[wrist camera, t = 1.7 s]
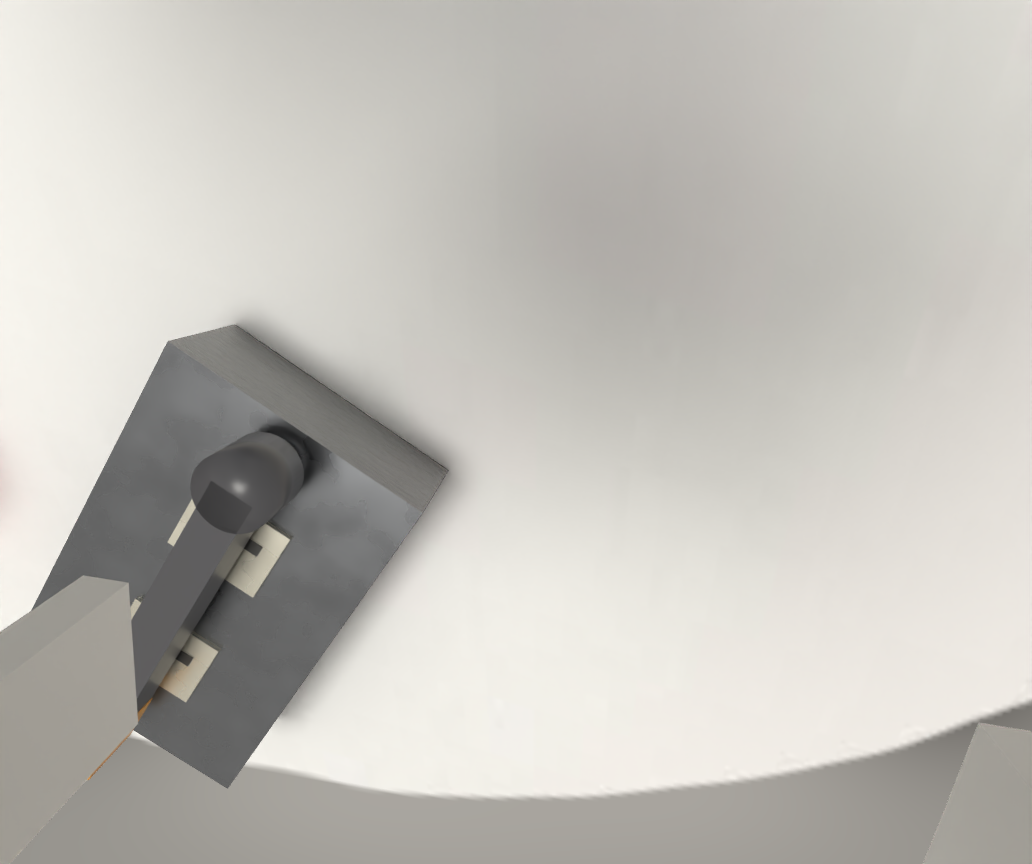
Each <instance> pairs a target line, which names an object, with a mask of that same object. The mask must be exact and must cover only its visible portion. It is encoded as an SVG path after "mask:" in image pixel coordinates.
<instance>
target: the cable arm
mask: <svg viewBox="0 0 1032 864" xmlns="http://www.w3.org/2000/svg"><path fill="white" fill-rule="evenodd" d="M303 480H304V469H303V465H302V462H301V459H300V457H299V455H298V453H297V452H296V450H295V449H294V448H293V447H292V446H291V445H290V444H289V443H288V442H287V441H285V440H284V439H282V438H281V437H279V436H277V435H274V434H271V433H266V432H254V433H250V434H247V435H245V436H243V437H241V438H240V439H238V440H236V441H234V442H233V443H231V444H229V445H228V446H226V447H224V448H222V449H221V450H219V451H217V452H215V453H214V454H212V455H210V456H208V457H207V458H205V459H204V460H202V461H201V462H200V463H199V464H198V465H197V467H196V468H195V470H194V472H193V474H192V478H191V483H190V490H191V496H192V500H193V502H194V505H195V507H196V508H195V510H194V512H193V513H192V515H191V517H190V519H189V520H188V522H187V524H186V526H185V527H184V529H183V531H182V532H181V534H180V536H179V538H178V539H177V541H176V543H175V545H174V546H173V548H172V550H171V552H170V553H169V555H168V557H167V559H166V560H165V562H164V564H163V566H162V567H161V569H160V571H159V573H158V574H157V576H156V578H155V580H154V581H153V583H152V585H151V587H150V588H149V590H148V592H147V594H146V595H145V597H144V599H143V601H142V602H141V604H140V606H139V608H138V609H137V611H136V613H135V615H134V616H133V618H132V620H131V625H132V640H133V655H134V669H135V684H136V698H137V713H138V721H139V720H140V718H141V717H142V715H143V713H144V712H145V710H146V708H147V707H148V705H149V704H150V702H151V700H152V699H153V698H152V696H153V695H154V693H155V692H156V690H157V688H158V687H159V685H160V683H161V682H162V680H163V679H164V677H165V675H166V674H167V672H168V670H169V669H170V667H171V666H172V664H173V662H174V661H175V659H176V657H177V656H178V654H179V653H180V651H181V649H182V648H183V646H184V644H185V643H186V641H187V640H188V638H189V636H190V635H191V633H192V631H193V630H194V628H195V627H196V625H197V623H198V622H199V620H200V618H201V617H202V615H203V614H204V612H205V610H206V609H207V607H208V605H209V604H210V602H211V601H212V599H213V597H214V596H215V594H216V592H217V591H218V589H219V588H220V586H221V584H222V583H223V581H224V579H225V578H226V576H227V575H228V573H229V571H230V570H231V568H232V566H233V565H234V563H235V562H236V560H237V558H238V557H239V555H240V553H241V552H242V550H243V549H244V547H245V545H246V544H247V542H248V540H249V539H250V537H251V536H252V534H253V532H254V531H256V530H257V529H259V528H261V527H262V526H263V525H264V524H265V523H267V522H268V521H269V520H270V519H271V518H272V517H273V516H274V515H276V514H277V513H278V512H279V511H280V510H281V509H282V508H284V507H285V506H286V505H287V504H288V503H289V502H290V501H291V500H293V499H294V498H295V497H296V496H297V494H298V493H299V491H300V489H301V487H302V484H303ZM133 730H134V729H133ZM133 730H132V731H133ZM132 731H131V732H130V733H129V734H128V735H127V736H126V737H125V738H124V740H123V741H122V742H121V743H120V744H119V745H118V746H117V747H116V748H115V749H114V751H113V752H112V753H111V754H110V755H109V756H108V757H107V758H106V759H105V760H104V761H103V763H102V764H101V765H100V766H99V767H98V768H97V769H96V770H95V771H94V772H93V773H92V775H91V776H90V777H89V778H88V779H87V780H89V779H90V778H91V777H92V776H93V775H94V774H95V772H96V771H97V770H98V769H99V768H100V767H101V766H102V765H103V764H104V763H105V762H106V760H108V758H109V757H110V756H111V755H112V754H113V753H114V752H115V751H116V750H117V749H118V748H119V746H120V745H121V744H122V743H123V742H124V741H125V740H126V739H127V738H128V737H129V736H130V734H131V733H132Z"/></svg>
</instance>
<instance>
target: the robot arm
mask: <svg viewBox="0 0 1032 864" xmlns="http://www.w3.org/2000/svg"><path fill="white" fill-rule="evenodd" d="M137 724H138V713H137V698H136V684H135V669H134V655H133V640H132V625H131V611H130V596H129V583H127V582H121V581H115V580H109V579H103V578H97V577H91V576H85V575H83V576H81V577H80V578H79V579H77V580H76V581H74V582H73V583H71V584H70V585H68V586H67V587H65V588H64V589H62V590H61V591H60V592H58V593H57V594H55V595H54V596H52V597H51V598H49V599H48V600H46V601H45V602H43V603H42V604H41V605H39V606H38V607H36V608H35V609H33V610H32V611H30V612H29V613H27V614H26V615H24V616H23V617H21V618H20V619H19V620H17V621H16V622H14V623H13V624H11V625H10V626H8V627H7V628H5V629H4V630H2V631H1V632H0V864H10V863H11V862H12V861H13V860H14V859H15V858H16V857H17V856H18V854H19V853H20V852H21V851H22V850H23V849H24V848H25V847H26V846H27V845H28V844H29V842H30V841H31V840H32V839H33V838H34V837H35V836H36V835H37V834H38V833H39V831H40V830H41V829H42V828H43V827H44V826H45V825H46V824H47V823H48V822H49V821H50V819H51V818H52V817H53V816H54V815H55V814H56V813H57V812H58V811H59V810H60V809H61V807H62V806H63V805H64V804H65V803H66V802H67V801H68V800H69V799H70V797H71V796H72V795H73V794H74V793H75V792H76V791H77V790H78V789H79V788H80V787H81V786H82V784H83V783H84V782H85V781H86V780H87V779H88V778H89V777H90V776H91V775H92V773H93V772H94V771H95V770H96V769H97V768H98V767H99V766H100V765H101V764H102V763H103V761H104V760H105V759H106V758H107V757H108V756H109V755H110V754H111V753H112V752H113V751H114V749H115V748H116V747H117V746H118V745H119V744H120V743H121V742H122V741H123V740H124V738H125V737H126V736H127V735H128V734H129V733H130V732H131V731H132V730H133V729H134V728H135V726H136V725H137ZM923 864H1032V731H1027V730H1021V729H1015V728H1009V727H1003V726H997V725H991V724H985V723H978V726H977V728H976V731H975V733H974V736H973V738H972V741H971V743H970V746H969V748H968V751H967V754H966V756H965V759H964V761H963V764H962V766H961V769H960V771H959V774H958V776H957V779H956V781H955V784H954V786H953V789H952V791H951V794H950V796H949V799H948V801H947V804H946V807H945V809H944V812H943V814H942V817H941V819H940V822H939V824H938V827H937V829H936V832H935V834H934V837H933V840H932V842H931V844H930V847H929V849H928V852H927V855H926V857H925V859H924V862H923Z"/></svg>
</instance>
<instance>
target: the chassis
mask: <svg viewBox="0 0 1032 864" xmlns="http://www.w3.org/2000/svg"><path fill="white" fill-rule="evenodd" d="M254 432H266V433H271V434H274V435H277V436H279V437H281V438H282V439H284V440H285V441H287V442H288V443H289V444H290V445H291V446H292V447H293V448H294V449H295V450H296V452H297V453H298V455H299V457H300V459H301V462H302V465H303V469H304V480H303V484H302V487H301V489H300V491H299V493H298V494H297V496H296V497H295V498H294V499H293V500H291V501H290V502H289V503H288V504H287V505H286V506H285V507H284V508H282V509H281V510H280V511H279V512H278V513H277V514H276V515H274V516H273V517H272V518H271V519H270V520H269V521H268V522H267V523H265V524H264V525H263V526H262V527H261V528H259V529H257V530H256V531H254V532H253V534H252V536H251V537H250V539H249V540H248V542H247V544H246V545H245V547H244V549H243V550H242V552H241V553H240V555H239V557H238V558H237V560H236V562H235V563H234V565H233V566H232V568H231V570H230V571H229V573H228V575H227V576H226V578H225V579H224V581H223V583H222V584H221V586H220V588H219V589H218V591H217V592H216V594H215V596H214V597H213V599H212V601H211V602H210V604H209V605H208V607H207V609H206V610H205V612H204V614H203V615H202V617H201V618H200V620H199V622H198V623H197V625H196V627H195V628H194V630H193V631H192V633H191V635H190V636H189V638H188V640H187V641H186V643H185V644H184V646H183V648H182V649H181V651H180V653H179V654H178V656H177V657H176V659H175V661H174V662H173V664H172V666H171V667H170V669H169V670H168V672H167V674H166V675H165V677H164V679H163V680H162V682H161V683H160V685H159V687H158V688H157V690H156V692H155V693H154V695H153V696H152V698H153V699H152V700H151V702H150V704H149V705H148V707H147V708H146V710H145V712H144V713H143V715H142V717H141V718H140V720H139V721H138V724H137V725H136V726H135V728H134V731H136V732H137V733H139V734H140V735H142V736H144V737H145V738H147V739H149V740H150V741H152V742H153V743H155V744H157V745H158V746H160V747H161V748H163V749H165V750H166V751H168V752H169V753H171V754H173V755H174V756H176V757H178V758H179V759H181V760H182V761H184V762H186V763H187V764H189V765H190V766H192V767H194V768H195V769H197V770H198V771H200V772H202V773H203V774H205V775H207V776H208V777H210V778H212V779H213V780H215V781H216V782H218V783H219V784H221V785H223V786H224V787H226V788H228V787H229V785H230V784H231V783H232V782H233V780H234V779H235V777H236V776H237V775H238V773H239V772H240V770H241V769H242V768H243V766H244V765H245V763H246V762H247V760H248V759H249V758H250V756H251V755H252V753H253V752H254V751H255V749H256V748H257V746H258V745H259V744H260V742H261V741H262V739H263V738H264V736H265V735H266V734H267V732H268V731H269V729H270V728H271V727H272V725H273V724H274V722H275V721H276V719H277V718H278V717H279V715H280V714H281V712H282V711H283V710H284V708H285V707H286V705H287V704H288V703H289V701H290V700H291V698H292V697H293V695H294V694H295V693H296V691H297V690H298V688H299V687H300V686H301V684H302V683H303V681H304V680H305V679H306V677H307V676H308V674H309V673H310V671H311V670H312V669H313V667H314V666H315V664H316V663H317V662H318V660H319V659H320V657H321V656H322V655H323V653H324V652H325V650H326V649H327V647H328V646H329V645H330V643H331V642H332V640H333V639H334V638H335V636H336V635H337V633H338V632H339V630H340V629H341V628H342V626H343V625H344V623H345V622H346V621H347V619H348V618H349V616H350V615H351V614H352V612H353V611H354V609H355V608H356V606H357V605H358V604H359V602H360V601H361V599H362V598H363V597H364V595H365V594H366V592H367V591H368V590H369V588H370V587H371V585H372V584H373V582H374V581H375V580H376V578H377V577H378V575H379V574H380V573H381V571H382V570H383V568H384V567H385V566H386V564H387V563H388V561H389V560H390V558H391V557H392V556H393V554H394V553H395V551H396V550H397V549H398V547H399V546H400V544H401V543H402V541H403V540H404V539H405V537H406V536H407V534H408V533H409V532H410V530H411V529H412V527H413V526H414V525H415V523H416V522H417V520H418V519H419V517H420V516H421V515H422V513H423V512H424V510H425V508H426V507H427V505H428V503H429V502H430V500H431V498H432V497H433V495H434V494H435V492H436V490H437V489H438V487H439V485H440V484H441V482H442V480H443V479H444V477H445V475H446V474H447V472H448V471H449V470H447V469H446V468H444V467H443V466H441V465H440V464H438V463H437V462H435V461H434V460H432V459H431V458H429V457H428V456H427V455H425V454H424V453H422V452H421V451H419V450H418V449H416V448H415V447H413V446H412V445H410V444H409V443H408V442H406V441H405V440H403V439H402V438H400V437H399V436H397V435H396V434H394V433H393V432H391V431H390V430H388V429H387V428H386V427H384V426H383V425H381V424H380V423H378V422H377V421H375V420H374V419H372V418H371V417H369V416H368V415H366V414H365V413H364V412H362V411H361V410H359V409H358V408H356V407H355V406H353V405H352V404H350V403H349V402H347V401H346V400H345V399H343V398H342V397H340V396H339V395H337V394H336V393H334V392H333V391H331V390H330V389H328V388H327V387H325V386H324V385H323V384H321V383H320V382H318V381H317V380H315V379H314V378H312V377H311V376H309V375H308V374H306V373H305V372H303V371H302V370H301V369H299V368H298V367H296V366H295V365H293V364H292V363H290V362H289V361H287V360H286V359H284V358H283V357H282V356H280V355H279V354H277V353H276V352H274V351H273V350H271V349H270V348H268V347H267V346H265V345H264V344H262V343H261V342H260V341H258V340H257V339H255V338H254V337H252V336H251V335H249V334H248V333H246V332H245V331H243V330H242V329H240V328H239V327H238V326H236V325H231V326H227V327H223V328H219V329H215V330H211V331H207V332H203V333H199V334H195V335H191V336H187V337H183V338H179V339H175V340H171V341H168V342H167V344H166V346H165V348H164V350H163V352H162V354H161V356H160V358H159V360H158V362H157V364H156V366H155V368H154V370H153V372H152V374H151V376H150V377H149V379H148V381H147V383H146V385H145V387H144V389H143V391H142V393H141V395H140V397H139V399H138V401H137V403H136V405H135V407H134V409H133V411H132V413H131V415H130V417H129V419H128V421H127V423H126V425H125V427H124V429H123V431H122V433H121V435H120V437H119V439H118V441H117V443H116V445H115V447H114V449H113V451H112V452H111V454H110V456H109V458H108V460H107V462H106V464H105V466H104V468H103V470H102V472H101V474H100V476H99V478H98V480H97V482H96V484H95V486H94V488H93V490H92V492H91V494H90V496H89V498H88V500H87V502H86V504H85V506H84V508H83V510H82V512H81V514H80V516H79V518H78V520H77V522H76V524H75V526H74V527H73V529H72V531H71V533H70V535H69V537H68V539H67V541H66V543H65V545H64V547H63V549H62V551H61V553H60V555H59V557H58V559H57V561H56V563H55V565H54V567H53V569H52V571H51V573H50V575H49V577H48V579H47V581H46V583H45V585H44V587H43V589H42V591H41V593H40V595H39V597H38V599H37V600H36V602H35V604H34V606H33V608H32V610H33V609H35V608H36V607H38V606H39V605H41V604H42V603H43V602H45V601H46V600H48V599H49V598H51V597H52V596H54V595H55V594H57V593H58V592H60V591H61V590H62V589H64V588H65V587H67V586H68V585H70V584H71V583H73V582H74V581H76V580H77V579H79V578H80V577H81V576H83V575H85V576H91V577H97V578H103V579H109V580H115V581H121V582H127V583H129V596H130V611H131V620H132V618H133V616H134V615H135V613H136V611H137V609H138V608H139V606H140V604H141V602H142V601H143V599H144V597H145V595H146V594H147V592H148V590H149V588H150V587H151V585H152V583H153V581H154V580H155V578H156V576H157V574H158V573H159V571H160V569H161V567H162V566H163V564H164V562H165V560H166V559H167V557H168V555H169V553H170V552H171V550H172V548H173V546H174V545H175V543H176V541H177V539H178V538H179V536H180V534H181V532H182V531H183V529H184V527H185V526H186V524H187V522H188V520H189V519H190V517H191V515H192V513H193V512H194V510H195V508H196V507H195V505H194V502H193V500H192V496H191V490H190V483H191V478H192V474H193V472H194V470H195V468H196V467H197V465H198V464H199V463H200V462H201V461H202V460H204V459H205V458H207V457H208V456H210V455H212V454H214V453H215V452H217V451H219V450H221V449H222V448H224V447H226V446H228V445H229V444H231V443H233V442H234V441H236V440H238V439H240V438H241V437H243V436H245V435H247V434H250V433H254ZM32 610H31V611H32Z"/></svg>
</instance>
